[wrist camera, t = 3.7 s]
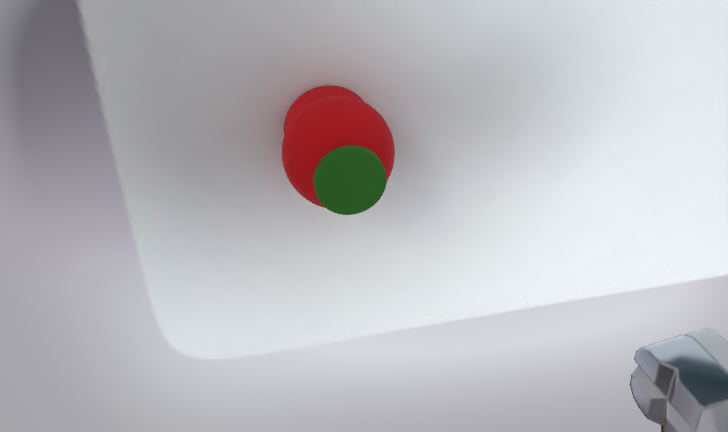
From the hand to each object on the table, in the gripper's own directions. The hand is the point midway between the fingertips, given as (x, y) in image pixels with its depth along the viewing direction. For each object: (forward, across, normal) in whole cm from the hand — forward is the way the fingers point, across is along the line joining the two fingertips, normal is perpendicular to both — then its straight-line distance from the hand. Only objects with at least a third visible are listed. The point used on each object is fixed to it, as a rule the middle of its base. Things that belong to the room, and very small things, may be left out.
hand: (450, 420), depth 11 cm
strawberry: (+15, 0, 0) cm, 15 cm away
